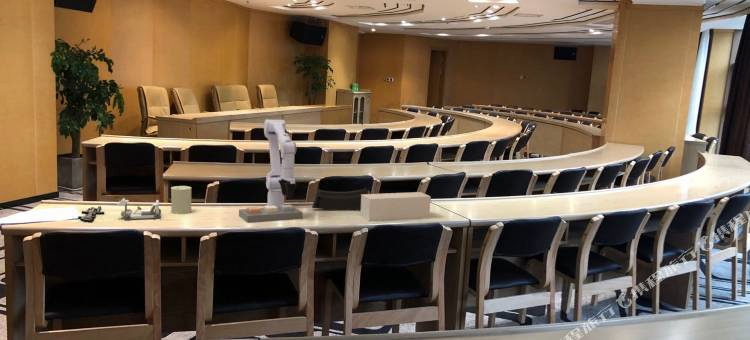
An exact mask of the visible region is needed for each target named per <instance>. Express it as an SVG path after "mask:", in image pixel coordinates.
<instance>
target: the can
mask: <svg viewBox="0 0 750 340" xmlns="http://www.w3.org/2000/svg"><path fill="white" fill-rule="evenodd" d="M170 189H171V190H170V192H171V193H170V195H171V200H170V201H171V203H170V204H171V208H170V209H171V211H170V213H172V214H175V213H178V214H177V215H183V214H184V215H185V214H190V213H192V187H191V186H187V185H179V186H178V185H176V186H175V185H174V186H171V187H170Z"/></svg>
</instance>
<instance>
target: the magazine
mask: <svg viewBox="0 0 750 340" xmlns="http://www.w3.org/2000/svg"><path fill="white" fill-rule="evenodd" d="M362 194H371V193H370V191H369V190H367V188H363V189H358V190H352V191H327V190H321V189H320V188H318V189H317V192H316V194H315V197H314V199H313V200H314V201H313V203H312V207H311V208H312V209H318V210H327V211H337V212H338V211H340V212H341V211H343V212H344V211H358V210H361V199H362V198H361V197H362V196H361V195H362Z"/></svg>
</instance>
